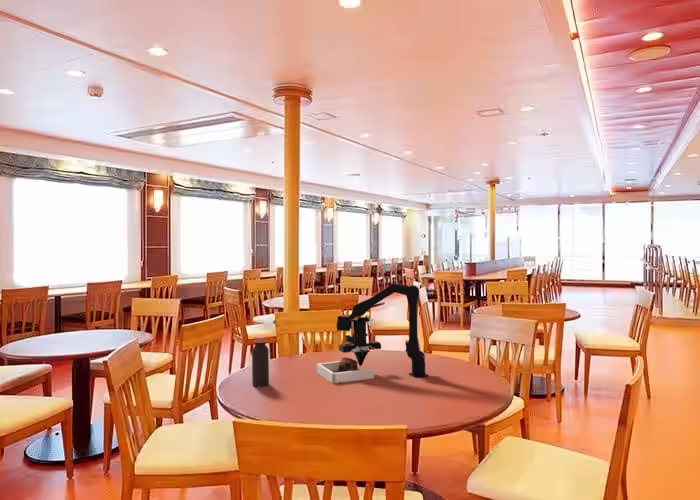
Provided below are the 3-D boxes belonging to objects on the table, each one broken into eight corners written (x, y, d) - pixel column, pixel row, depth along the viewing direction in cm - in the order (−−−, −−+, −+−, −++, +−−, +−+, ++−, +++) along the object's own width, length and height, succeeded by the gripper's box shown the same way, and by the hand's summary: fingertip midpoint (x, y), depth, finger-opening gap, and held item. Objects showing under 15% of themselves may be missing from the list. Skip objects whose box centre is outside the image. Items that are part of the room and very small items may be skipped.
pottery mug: (331, 374, 226) (337, 356, 229) (349, 381, 229) (354, 364, 232) (343, 373, 215) (348, 354, 219) (361, 380, 218) (366, 362, 222)
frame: (374, 378, 216) (373, 369, 216) (332, 383, 208) (332, 373, 208) (354, 368, 235) (354, 359, 235) (316, 372, 227) (316, 363, 227)
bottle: (265, 387, 204) (264, 338, 203) (249, 386, 205) (249, 337, 205) (271, 382, 210) (270, 335, 210) (256, 382, 212) (255, 335, 211)
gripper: (370, 327, 235) (371, 360, 236) (334, 330, 228) (334, 364, 228) (381, 330, 225) (382, 364, 225) (343, 333, 218) (344, 369, 218)
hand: (360, 365), depth 224 cm, fingers closed
